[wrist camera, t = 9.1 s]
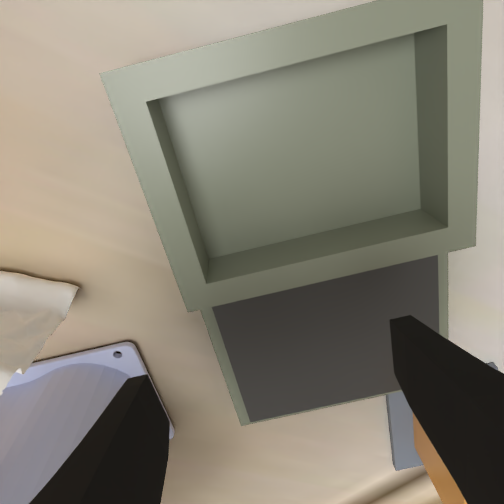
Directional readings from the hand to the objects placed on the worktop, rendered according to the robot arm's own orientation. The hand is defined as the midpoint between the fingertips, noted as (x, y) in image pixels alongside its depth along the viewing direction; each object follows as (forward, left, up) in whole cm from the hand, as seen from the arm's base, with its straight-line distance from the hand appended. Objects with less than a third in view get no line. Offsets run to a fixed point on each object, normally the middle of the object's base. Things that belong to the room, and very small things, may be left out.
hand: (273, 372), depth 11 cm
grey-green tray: (+3, -1, -9) cm, 10 cm away
